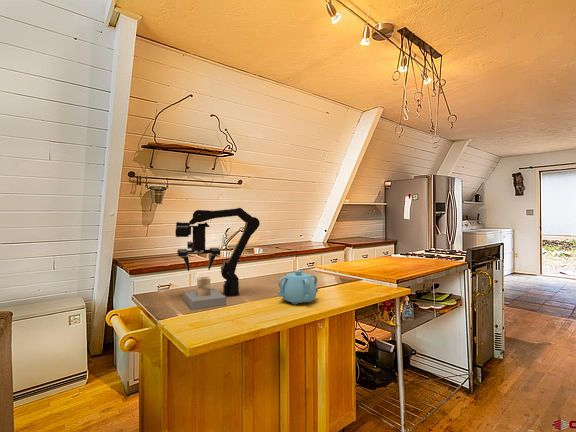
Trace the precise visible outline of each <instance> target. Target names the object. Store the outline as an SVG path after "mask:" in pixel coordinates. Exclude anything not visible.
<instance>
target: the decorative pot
mask: <svg viewBox="0 0 576 432" xmlns="http://www.w3.org/2000/svg"><path fill="white" fill-rule="evenodd" d="M313 278H314V280H313ZM317 285H318V277H317V276H316V275H314V274H309V273H305V272H303V270H302V269H301V270H300V269H296V270H294V272H290V273H286V275H285V276H282V277H281V278H279V280H278V287H279V290H278V292H277V296H278V297H280V298H283V299H284V301H287V302H288V303H291V305H298V304H302V303H305V304H306V303H307V304H311V303H312V302H313V301H314V300H315V299H316V297H317V293H318V292H319V289H318V287H317Z"/></svg>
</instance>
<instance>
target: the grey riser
mask: <svg viewBox="0 0 576 432" xmlns="http://www.w3.org/2000/svg"><path fill="white" fill-rule="evenodd" d="M227 297H228V296H225V294H224V293H221V292H220V291H219V290H217V289H216V288H214V287H213V288H210V295H207V296H198V294H197V289H196V290H187V291H182V300H183V301H184V303H186V305H187V307H189V308H190V309H191V310H192V311H197V310H202V309H204V310H205V309H210V308H217V307H225V306H227V299H228V298H227Z"/></svg>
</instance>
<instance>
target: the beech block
mask: <svg viewBox="0 0 576 432" xmlns="http://www.w3.org/2000/svg"><path fill="white" fill-rule="evenodd" d="M196 286H197V287H196V290H197V294H198V296H207V295H210V289H211V278H210V276H201V277H199V276H198V277H196Z"/></svg>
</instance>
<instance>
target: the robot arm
mask: <svg viewBox="0 0 576 432" xmlns="http://www.w3.org/2000/svg"><path fill="white" fill-rule="evenodd" d="M236 216H237V217H238V218H240V220H242V221H243V222H244V223H245V224H244V227H243V232H242V234H241V236H240V238H239V239H238V241H237V244H236V246H235V247H234V250H233V251H232V253H231V256H230V257H229V259H228V260H224V261H223V263H222V265H221V266H220V274H221V277H222V279H225V280H224V284H222V290H223V292H222V294H223V295H224V296H226V297H231V296H232V297H233V296H240V293H239V289H240V288H239V286H240V284H239V283H240V282H239V281H240V280H239V279H240V278H239V277H238V275H237V274H236V270H237V267H238V262H239V260H240V258H241V256H242V255H243V252H244V250H245V248H246V246H247V244H248V242H249V240H250V238H251V237H252V235H253V234H254V233H255V232H256V231H257V230H258V228H259V227H260V225H261V222H260V220H259V219H258V217H255V216H252V215H251V214H249V213H248V212H246V211H245V210H244V209H243V208H242V207H236V208H229V209H218V210H206V209H197V210H195V211H194V212H193V213H192V218H191V220H189V221H188V222H179V221H177V222H175V223H176V224H175V226H176V227H175V232H174V233H175V238H189V237H190V235H191V236H192V241H187V243H186V246H187V248H179V249H177V251H176V255H177V257H180V258H181V259H183V261H184V263H185V266H186V269H187V272H190V261H189V259H190V258H189V256H188V255H201V254H208V266H207V267H208V268H207V269H208V271H210V270H211V267H212V265H213V262H214V260H215V258H216V257H218V256H219V255H221V249H220V248H219V247H209V249H206V228H209V227H210V225H209V224H208V222H207V221H210V220H213V219H221V218H230V217H236ZM203 222H204V223H203ZM196 223H197V225H195V224H196ZM188 249H189V250H188Z"/></svg>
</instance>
